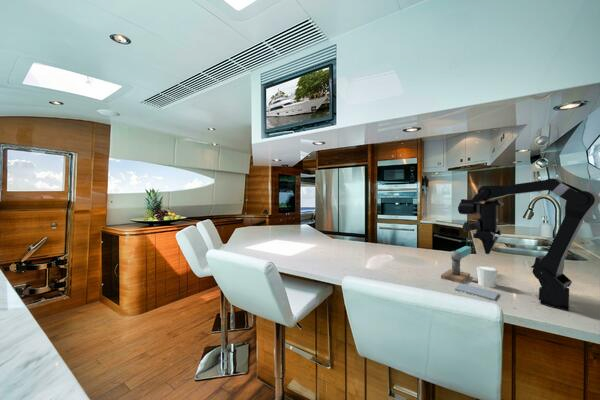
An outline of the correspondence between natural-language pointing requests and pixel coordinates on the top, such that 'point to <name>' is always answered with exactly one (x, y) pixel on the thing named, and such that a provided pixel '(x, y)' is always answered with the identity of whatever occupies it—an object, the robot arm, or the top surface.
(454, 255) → the bar
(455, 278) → the stand
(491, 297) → the slate mat
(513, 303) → the top surface
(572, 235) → the robot arm
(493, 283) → the white tapered cup
